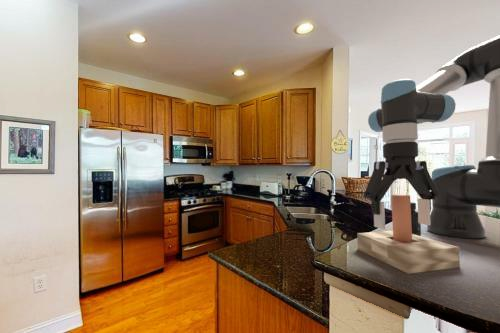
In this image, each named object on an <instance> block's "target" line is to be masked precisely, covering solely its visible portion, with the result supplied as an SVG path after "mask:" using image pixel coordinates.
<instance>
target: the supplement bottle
mask: <svg viewBox="0 0 500 333" xmlns="http://www.w3.org/2000/svg"><path fill="white" fill-rule="evenodd" d="M410 203H411V227H412V234H415V235H418V236H422V228H421V225H422V224H420V223H418V211H416V210H417V204H416V202H411V201H410Z"/></svg>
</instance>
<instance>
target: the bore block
mask: <svg viewBox="0 0 500 333" xmlns="http://www.w3.org/2000/svg"><path fill="white" fill-rule="evenodd" d="M356 235H357V236H356V238H357V240H356V241H357V250H358V251H360V252H362V253H364V254H366V255H369V256H371V257H372V258H374V259H377V260H379V261H381V262H383V263H385V264H387V265H390V266H391V267H394V268H396V269H398V270H400V271H402V272H404V273H406V274H408V275H409V274H416V273H425V272H433V271H439V270H448V269H459V268H460V267H461V265H460V264H461V263H460V262H461V260H460V246H457V245H453V244H449V243H446V242H443V241H440V240H435V239H431V238H429V237H426V236H422V235H421V236H418V235H415V234H412V242H411V243H401V242H398V241H395V240H393V230H384V231H383V230H381V231H369V232H357V233H356Z"/></svg>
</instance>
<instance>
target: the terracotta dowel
mask: <svg viewBox="0 0 500 333" xmlns="http://www.w3.org/2000/svg"><path fill="white" fill-rule="evenodd" d="M390 197H391V213H392V214H391V217H392V218H391V219H392V220H391V221H392V231H393V240H395V241H398V242H401V243H411V242H412V227H411V203H410V202H411V195H409V194H391V196H390Z"/></svg>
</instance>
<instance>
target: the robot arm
mask: <svg viewBox="0 0 500 333" xmlns="http://www.w3.org/2000/svg"><path fill="white" fill-rule="evenodd" d="M483 80H484V81H485V82H486V83H488V84H489V98H488V114H487V131H486V145H485V146H486V147H485V157H484V158H482V159H481V160H479V161H478V163H477V164H478V166H477V168H476V167H475V165H473V164H460V165H452V166H451V165H450V166H444V167H443V166H442V167H438V168H435V169H433V170H432V172H431V174H430V172H429V169H428V165H427V161H426V160H417V161H416V158H417V157H418V156H419V143H418V142H417V140H418V139H419V134H418V125H420V124H423V123H431V124H432V123H433V124H434V123H442V122H444V121H446V120H448V119H450V118H451V117H452V116H453V114H454V113H455V111H456V102H455V99H454V98H453V97H452V96H451V95H448V93H450V92H453V91H457V90H459V89H460V88H462V87H464V86H467V85H470V84H473V83H477V82H480V81H483ZM380 104H381V105H380V106H381V108H378V109H376V110H374V111H372V112H371V113H370V114H369V115H368V119H367V122H368V126H369V128H370V130H372V131H374V132H376V133H380V132H382V142H383V143H384V144H383V145H382V156H383V159H385V160H384V161H383V160H382V161H379V160H378V161H374V163H373V171H372V173H371V175H370V178H369V182H368V183H367V186H366V188H365V191H364V194H363V198H364V199H367V200H368V201H370V202H371V204H370V205H371V214H373V227H375V228H379V229H382V230H385V229H386V214H385V201H382V200H383V198H384V196H386V194H387V192H388V191H389V189H390V187H391V186H392V185H393V183H394V182H395V181H397V180H403V179H404V180H406V181H408V183H409V184H410V186H411V187H412V188H413V190H414V191H415V192H416V193H417V195H418V196H419V197H420V198H417V212H418V223H420V224H421V225H424V226H426V229H427V231H429V232H430V233H434V234H437V235H441V236H446V237H447V236H448V237H454V238H461V239H483V238H485V237H486V229H485V228H484V225H483V223H482V220H481V219H480V216H479V214H478V210H477V206H482V207H489V208H490V207H491V208H500V35H498V36H495V37H493V38H491V39H489V40H486V41H484V42H482V43H480V44H478V45H475V46H472V47H471V48H469V49H467V50H466V51H464V52H462V53H461V54H459V55H457V56H456V57H454V58H453V59H451V61H449V62H447V63H446V64H445V65H443V66H441V67H440V68H439V69H438V70H436V72H435V74H434V75H432V76H431V77H429V78H428V79H427V80H425V81H423V82H422V83H420V84H419V85H416V82H415V81H414V80H413V79H409V78H406V79H405V78H403V79H397V80H393V81H391V82H388V83H387V84H385V85H383V87H382V88H381V98H380Z"/></svg>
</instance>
